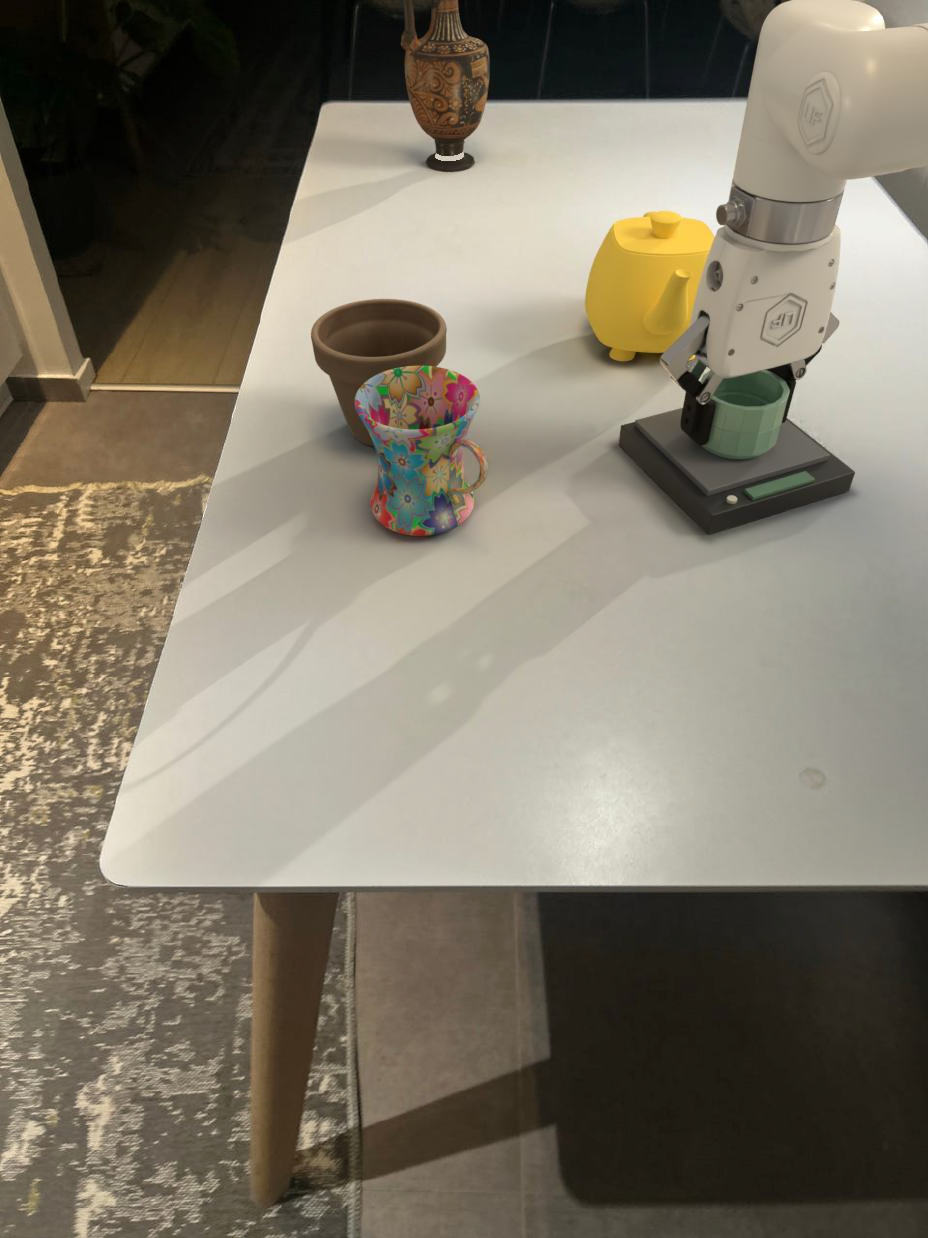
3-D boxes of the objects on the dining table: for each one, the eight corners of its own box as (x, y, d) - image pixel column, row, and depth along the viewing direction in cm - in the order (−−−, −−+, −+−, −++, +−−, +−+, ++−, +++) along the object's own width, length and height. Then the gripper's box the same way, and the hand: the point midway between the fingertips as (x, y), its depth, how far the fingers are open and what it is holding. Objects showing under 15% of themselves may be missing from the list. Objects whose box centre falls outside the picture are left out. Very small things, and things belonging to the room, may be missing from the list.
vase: (498, 172, 131) (501, -93, 110) (412, 180, 129) (399, -88, 108) (478, 145, 139) (478, -106, 118) (397, 152, 137) (382, -102, 116)
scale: (849, 491, 77) (858, 465, 75) (707, 535, 73) (713, 509, 71) (748, 409, 86) (754, 384, 84) (618, 444, 82) (621, 419, 80)
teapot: (700, 301, 102) (721, 180, 93) (737, 397, 87) (766, 266, 78) (575, 302, 102) (585, 181, 93) (592, 398, 88) (605, 267, 79)
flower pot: (359, 385, 90) (349, 286, 83) (467, 408, 87) (466, 307, 80) (300, 448, 82) (284, 344, 75) (416, 476, 79) (410, 370, 72)
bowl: (792, 450, 77) (807, 397, 73) (721, 470, 75) (733, 417, 71) (743, 409, 81) (755, 357, 78) (675, 427, 79) (684, 375, 76)
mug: (343, 509, 76) (328, 395, 68) (427, 463, 80) (422, 352, 73) (441, 580, 70) (437, 463, 62) (526, 526, 74) (532, 411, 67)
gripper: (708, 252, 60) (668, 475, 73) (915, 208, 65) (844, 425, 77) (647, 211, 65) (620, 427, 78) (844, 174, 70) (788, 382, 82)
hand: (732, 424), depth 77 cm, fingers closed on bowl, 7 cm apart
